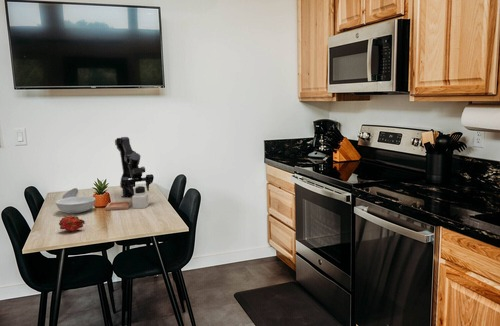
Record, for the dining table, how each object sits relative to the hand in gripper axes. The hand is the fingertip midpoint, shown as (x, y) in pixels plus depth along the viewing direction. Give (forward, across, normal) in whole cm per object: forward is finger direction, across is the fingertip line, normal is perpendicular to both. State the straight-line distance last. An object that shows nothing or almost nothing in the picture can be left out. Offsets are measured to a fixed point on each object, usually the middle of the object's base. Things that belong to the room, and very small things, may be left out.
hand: (140, 191), depth 248 cm
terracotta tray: (+1, -12, +12) cm, 16 cm away
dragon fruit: (+26, -40, -12) cm, 49 cm away
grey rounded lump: (-21, -34, +34) cm, 53 cm away
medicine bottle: (+6, 0, +8) cm, 10 cm away
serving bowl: (-2, -34, +15) cm, 37 cm away
